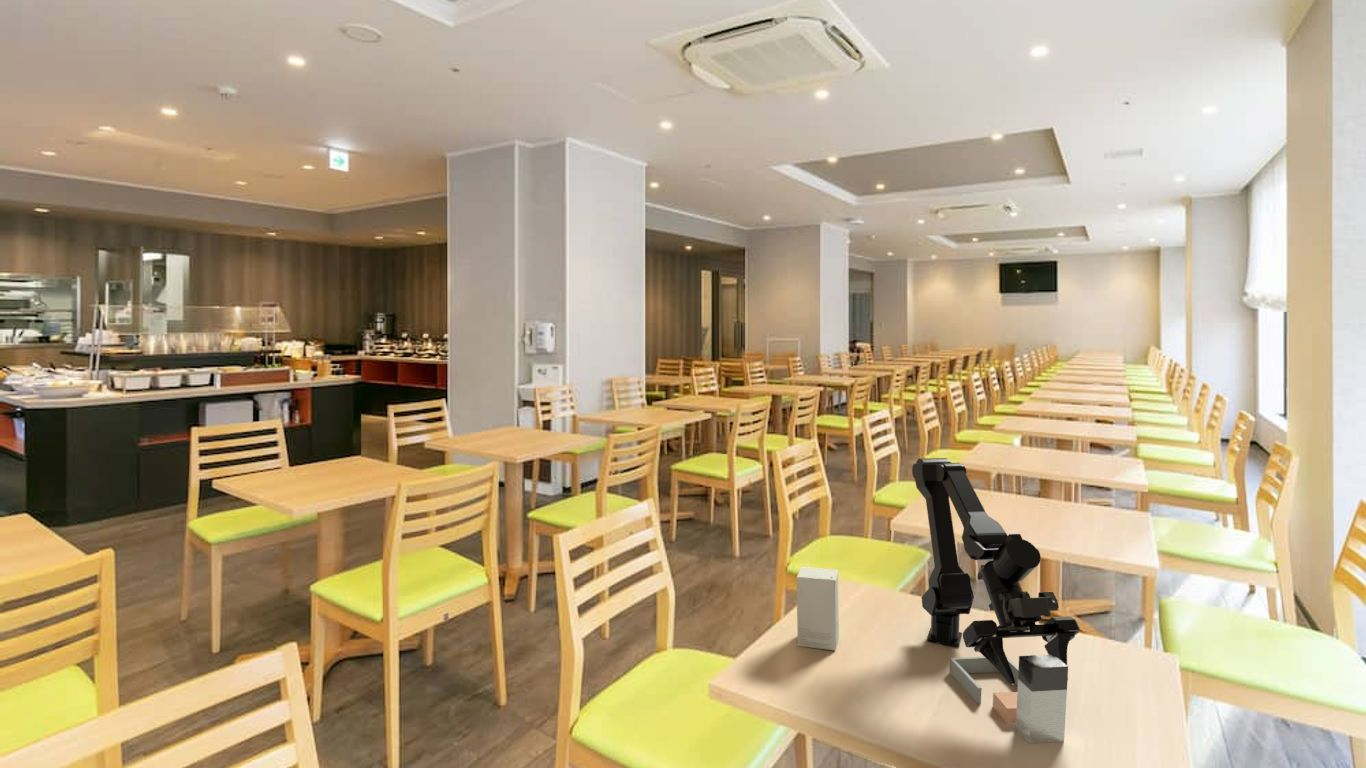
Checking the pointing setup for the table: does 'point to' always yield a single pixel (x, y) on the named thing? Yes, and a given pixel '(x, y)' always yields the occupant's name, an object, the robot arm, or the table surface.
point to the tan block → (1006, 705)
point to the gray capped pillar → (1041, 698)
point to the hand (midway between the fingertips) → (1039, 682)
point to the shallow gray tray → (974, 665)
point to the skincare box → (817, 608)
